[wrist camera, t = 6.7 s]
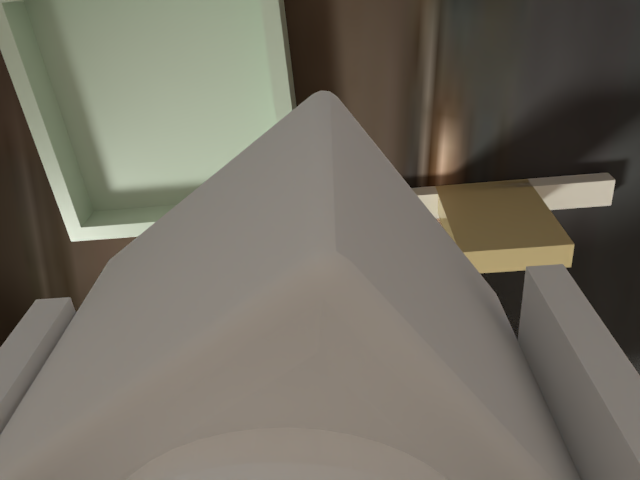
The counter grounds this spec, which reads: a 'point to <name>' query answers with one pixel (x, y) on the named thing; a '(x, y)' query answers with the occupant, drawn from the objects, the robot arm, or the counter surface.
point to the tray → (143, 98)
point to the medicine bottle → (289, 337)
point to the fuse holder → (514, 217)
